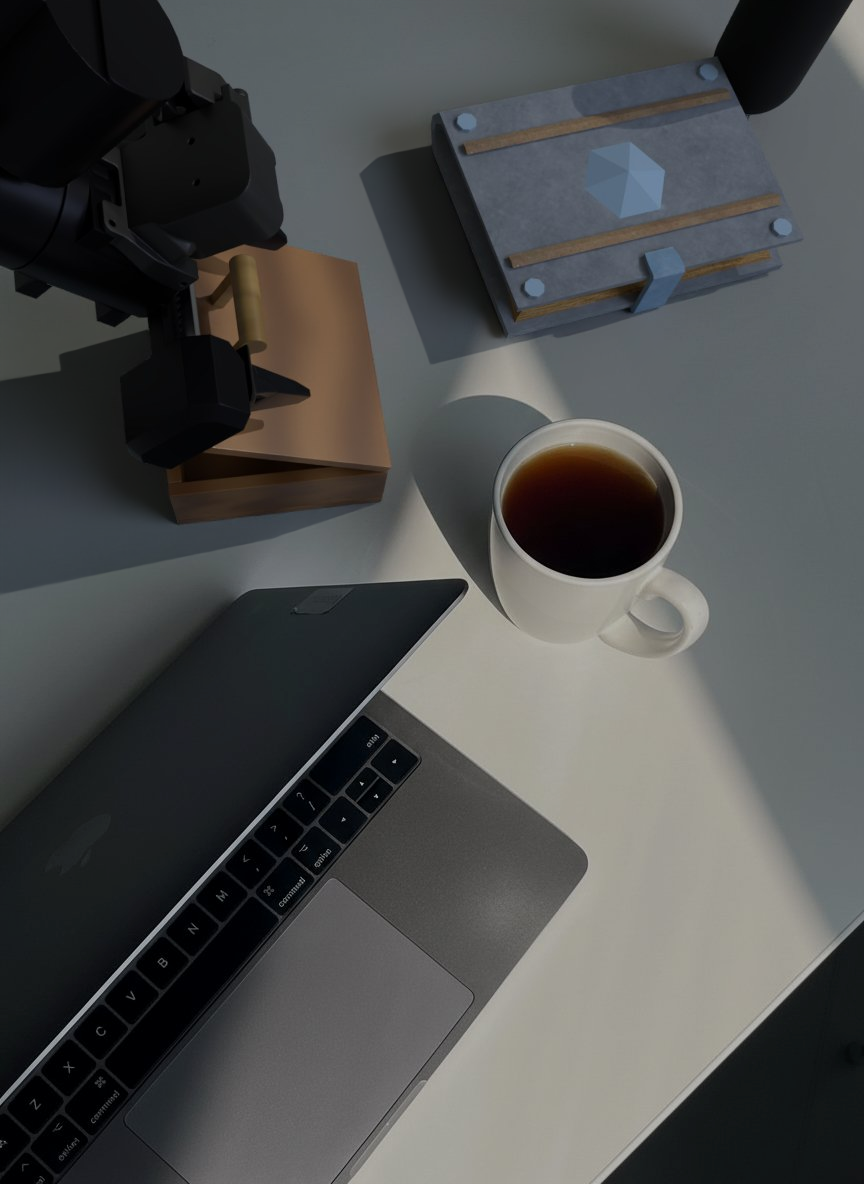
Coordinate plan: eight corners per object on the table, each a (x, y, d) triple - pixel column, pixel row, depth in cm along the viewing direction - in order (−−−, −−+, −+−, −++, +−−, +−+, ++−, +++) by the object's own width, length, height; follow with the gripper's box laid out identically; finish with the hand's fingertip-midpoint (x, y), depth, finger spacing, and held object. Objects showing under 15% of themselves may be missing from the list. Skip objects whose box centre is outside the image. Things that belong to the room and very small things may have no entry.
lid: (167, 449, 52) (204, 409, 49) (141, 217, 56) (175, 165, 52) (385, 472, 60) (431, 440, 57) (351, 268, 64) (392, 226, 60)
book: (690, 89, 77) (716, 36, 72) (779, 277, 73) (812, 235, 69) (427, 144, 73) (436, 91, 68) (507, 346, 69) (523, 307, 64)
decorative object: (793, 91, 78) (905, -86, 64) (758, 151, 76) (865, -19, 62) (719, 48, 78) (813, -138, 64) (682, 106, 77) (771, -73, 62)
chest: (178, 525, 63) (169, 496, 58) (155, 326, 66) (145, 285, 62) (381, 501, 65) (388, 472, 60) (350, 310, 68) (354, 269, 64)
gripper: (175, 318, 36) (440, 421, 48) (125, -102, 41) (379, 90, 53) (0, 434, 42) (275, 500, 55) (-25, 59, 47) (233, 197, 59)
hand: (293, 319), depth 55 cm, fingers open, 9 cm apart
